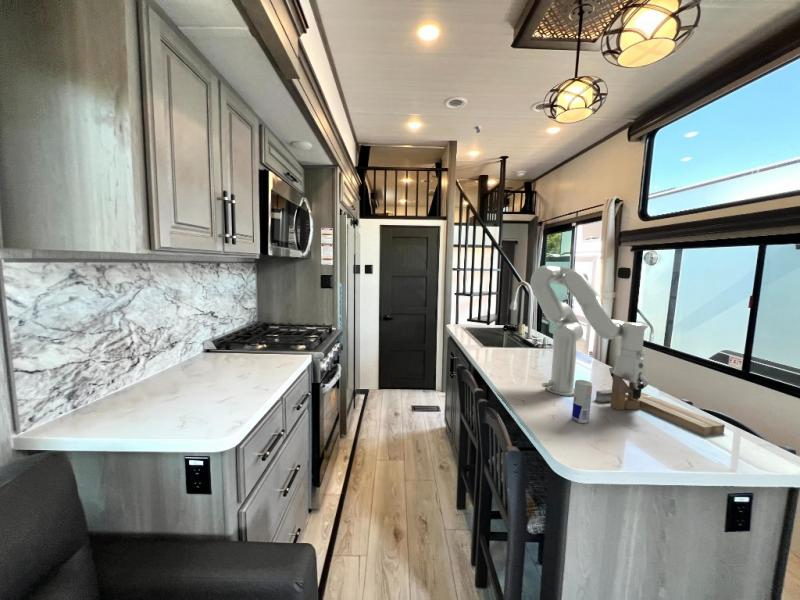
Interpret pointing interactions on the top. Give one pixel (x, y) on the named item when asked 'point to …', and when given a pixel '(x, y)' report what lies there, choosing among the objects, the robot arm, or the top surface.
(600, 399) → the metal block
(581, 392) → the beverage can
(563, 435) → the top surface
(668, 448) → the top surface
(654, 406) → the light brown wooden board
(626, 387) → the wooden bracket
